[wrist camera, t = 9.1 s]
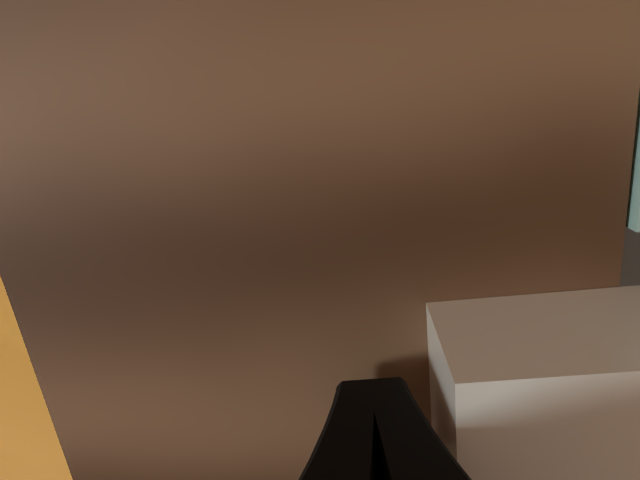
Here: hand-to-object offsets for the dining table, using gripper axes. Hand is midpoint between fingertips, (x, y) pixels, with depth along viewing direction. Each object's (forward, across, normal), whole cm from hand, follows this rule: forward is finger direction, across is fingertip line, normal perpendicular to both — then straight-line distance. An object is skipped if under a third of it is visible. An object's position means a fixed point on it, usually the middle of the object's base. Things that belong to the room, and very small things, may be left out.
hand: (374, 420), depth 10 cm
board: (+4, +1, -3) cm, 5 cm away
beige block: (+1, -4, 0) cm, 4 cm away
